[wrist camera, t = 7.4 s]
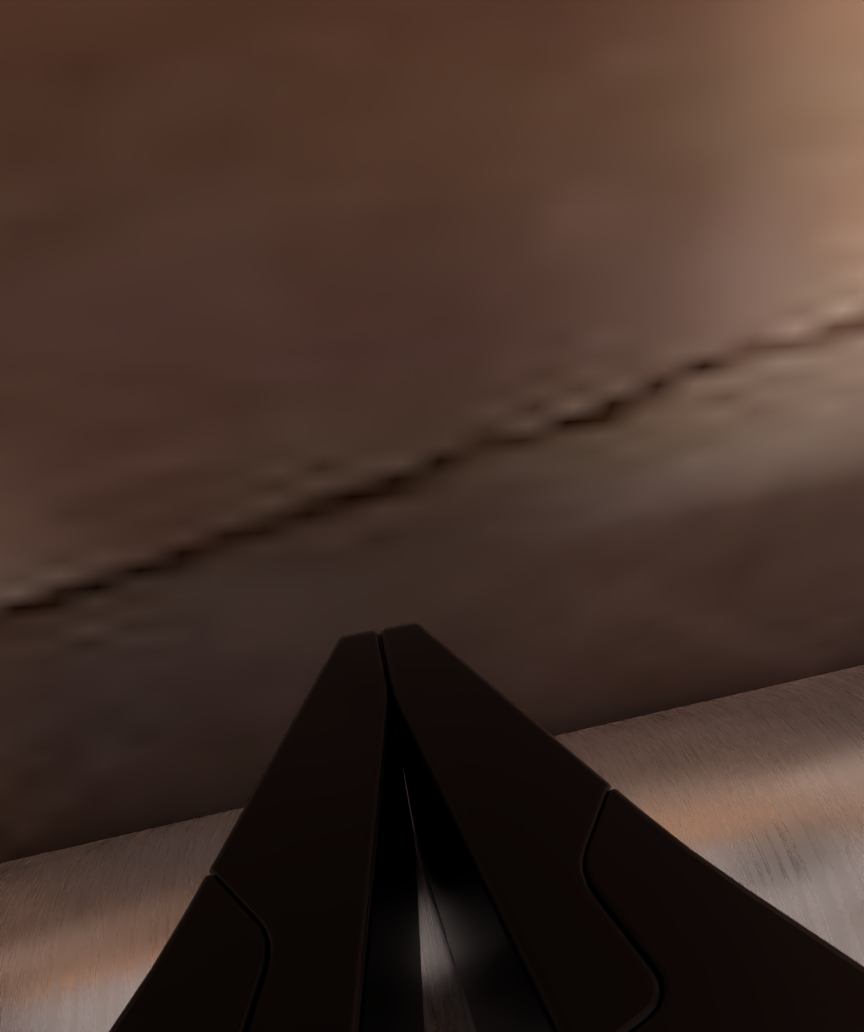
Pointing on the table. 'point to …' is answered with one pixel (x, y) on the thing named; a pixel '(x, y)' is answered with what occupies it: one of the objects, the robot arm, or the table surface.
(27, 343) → the table surface
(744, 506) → the table surface
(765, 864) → the air tube
